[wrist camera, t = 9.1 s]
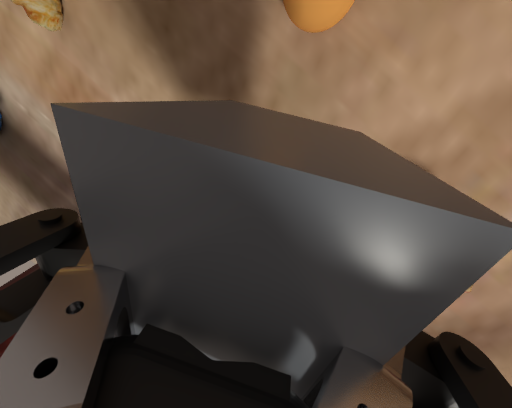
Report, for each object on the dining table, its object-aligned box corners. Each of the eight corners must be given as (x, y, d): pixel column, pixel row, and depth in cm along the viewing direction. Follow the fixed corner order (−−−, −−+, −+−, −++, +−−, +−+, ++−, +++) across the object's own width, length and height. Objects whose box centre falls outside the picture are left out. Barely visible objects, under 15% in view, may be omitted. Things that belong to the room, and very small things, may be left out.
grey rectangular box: (360, 132, 10) (529, 232, 2) (297, 273, 14) (289, 450, 7) (231, 100, 10) (50, 102, 3) (212, 246, 15) (125, 385, 8)
